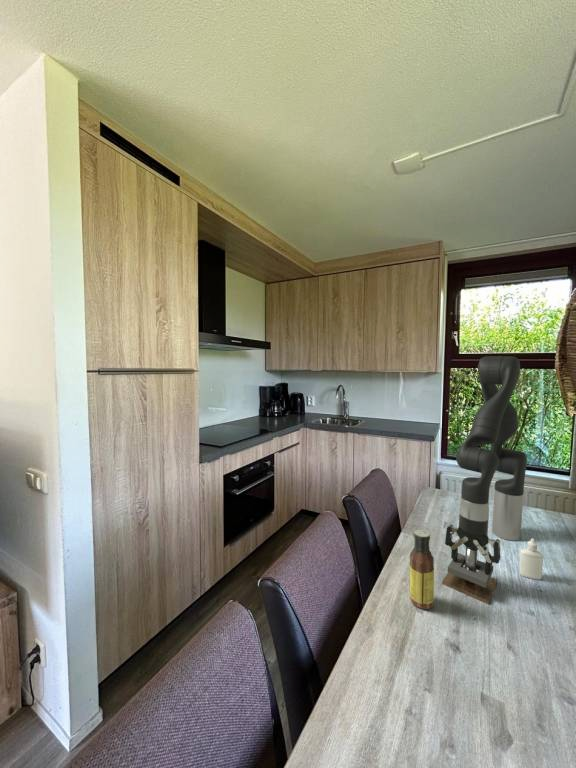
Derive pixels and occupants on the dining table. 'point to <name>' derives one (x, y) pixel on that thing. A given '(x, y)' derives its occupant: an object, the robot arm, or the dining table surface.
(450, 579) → the bronze plate with post
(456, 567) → the collar
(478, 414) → the robot arm
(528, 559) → the eye dropper bottle
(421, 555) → the sauce bottle
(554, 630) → the dining table surface
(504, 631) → the dining table surface
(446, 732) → the dining table surface
